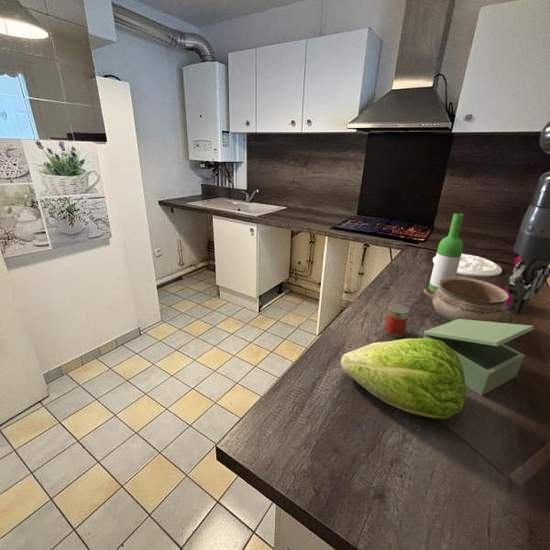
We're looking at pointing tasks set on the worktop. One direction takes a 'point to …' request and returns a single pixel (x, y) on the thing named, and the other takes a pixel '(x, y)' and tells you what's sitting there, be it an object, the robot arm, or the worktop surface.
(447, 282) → the cooking pot
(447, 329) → the bin lid
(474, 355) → the bin
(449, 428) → the worktop surface
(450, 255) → the wine bottle
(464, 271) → the ceiling medallion
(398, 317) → the jar
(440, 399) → the lettuce
